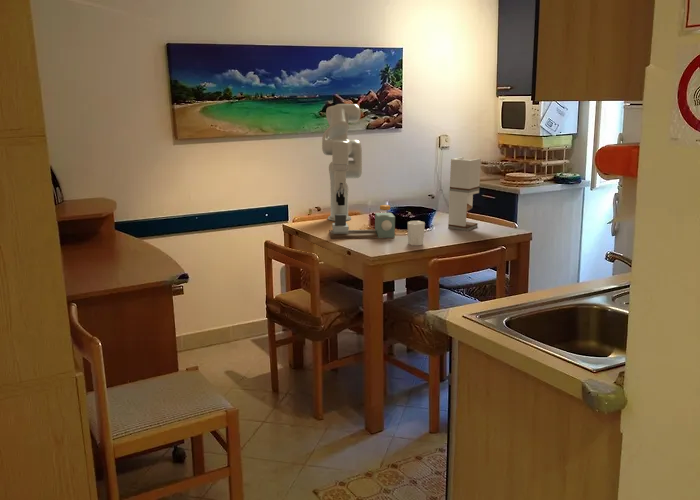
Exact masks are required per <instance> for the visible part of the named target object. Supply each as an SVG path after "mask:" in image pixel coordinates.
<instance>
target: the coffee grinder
mask: <svg viewBox="0 0 700 500" xmlns="http://www.w3.org/2000/svg"><path fill="white" fill-rule="evenodd" d="M481 163H482V158H475V159H464V157H455V158H451V159H450V171H449V173H450V177H449V178H450V179H449V195H448V197H449V198H448V199H449V200H448V219H447V220H448V223H447V228H448V229H450V230H452V229H453V230H456V231H457V230H459V231H464V230H466V232H467V230H468V231H470V229H471V230H474V229H476V228H478V225H479V223H477V222H472V221H467V212H468V211H470V210H472V209H473V205H474V204H473V201H474V199H473V198H474V195H476V194H480V183H481ZM473 228H474V229H473Z"/></svg>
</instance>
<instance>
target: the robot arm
mask: <svg viewBox="0 0 700 500" xmlns="http://www.w3.org/2000/svg"><path fill="white" fill-rule="evenodd" d="M325 115H326V120H327V123H328V126H329V127H327V129H326V130H325V131H324V133H323V134H322V140H321V143H322V144H321V150H322V153H323V154H324V156H332V161H331V162H330V163H329V164H328V172H329V180H330V215H328V216H327V219H328V221H334V222H335V214H346V222H347V221H350V220H352V217H351V216H350V215H349V186H348V184H347V179H359V178H361V177H362V174H363V172H362V170H363V166H362V165H363V158H362V157H363V156H362V155H363V153H362V143H361V142H360V140H358V139H348V131H349V127H350V126H349V123H358V122H359V121H360V119H361V108H360V106H359V105H358V104H357V103H337V104H335V105H331V106H327V108H326V112H325ZM350 158H351V159H353V160H349V159H350Z"/></svg>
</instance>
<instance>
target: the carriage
mask: <svg viewBox="0 0 700 500" xmlns="http://www.w3.org/2000/svg"><path fill="white" fill-rule="evenodd" d="M331 226H332V230H333V234H348V232H349V230H350V229H349V227H350V226H349V225H348V223H347V221H346V214H335V221H334V222H332V225H331Z"/></svg>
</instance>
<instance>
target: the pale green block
mask: <svg viewBox="0 0 700 500" xmlns="http://www.w3.org/2000/svg"><path fill="white" fill-rule="evenodd" d="M395 229H396V216H395V215H394V214H393V213H392V212H375V213H374V230H375V232H376V234H377V238H378V239H384V238H385V239H386V238H394V239H395V237H396V235H395V233H396V230H395Z"/></svg>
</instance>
